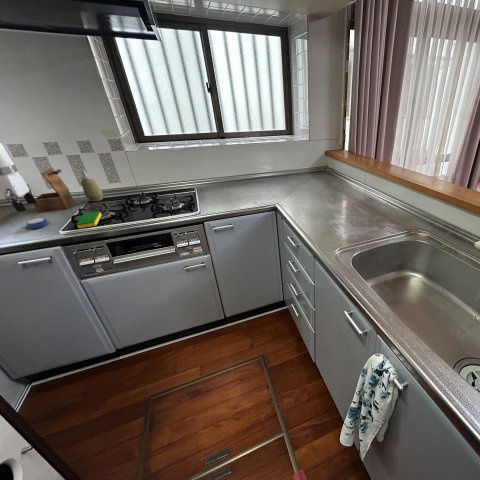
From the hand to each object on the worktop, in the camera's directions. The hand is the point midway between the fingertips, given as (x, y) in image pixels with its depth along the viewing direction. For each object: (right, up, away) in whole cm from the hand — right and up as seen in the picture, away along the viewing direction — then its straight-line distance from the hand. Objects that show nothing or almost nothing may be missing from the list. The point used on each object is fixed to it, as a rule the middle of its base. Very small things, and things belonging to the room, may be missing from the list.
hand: (27, 207), depth 124 cm
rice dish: (0, -9, +5) cm, 10 cm away
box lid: (-8, +16, +21) cm, 27 cm away
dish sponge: (+22, -6, +9) cm, 24 cm away
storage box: (-12, +3, +26) cm, 29 cm away
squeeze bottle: (+4, +8, +34) cm, 35 cm away
